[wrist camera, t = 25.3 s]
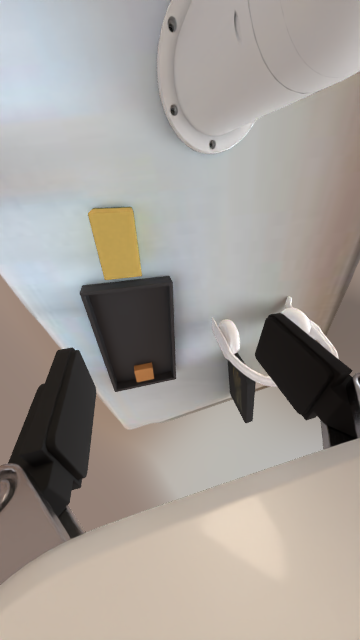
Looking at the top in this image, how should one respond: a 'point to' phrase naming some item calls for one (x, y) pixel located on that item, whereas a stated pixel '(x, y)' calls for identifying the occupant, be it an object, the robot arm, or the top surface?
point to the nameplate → (242, 391)
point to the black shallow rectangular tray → (133, 328)
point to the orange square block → (144, 372)
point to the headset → (231, 340)
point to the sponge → (116, 241)
